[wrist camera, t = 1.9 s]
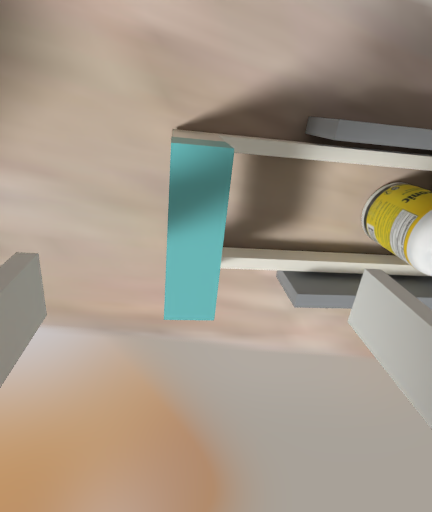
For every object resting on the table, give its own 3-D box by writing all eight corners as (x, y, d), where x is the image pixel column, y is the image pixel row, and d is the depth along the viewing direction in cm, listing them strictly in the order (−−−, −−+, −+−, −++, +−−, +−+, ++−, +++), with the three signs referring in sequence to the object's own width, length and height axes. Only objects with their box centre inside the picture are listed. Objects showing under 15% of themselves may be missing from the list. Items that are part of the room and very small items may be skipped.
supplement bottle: (429, 185, 28) (548, 224, 19) (402, 243, 30) (498, 302, 21) (372, 175, 27) (470, 211, 18) (350, 236, 29) (427, 294, 20)
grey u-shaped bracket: (276, 276, 30) (294, 307, 25) (308, 116, 24) (339, 119, 20) (432, 281, 32) (474, 310, 28) (495, 137, 26) (561, 144, 22)
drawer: (167, 255, 27) (163, 319, 19) (172, 129, 23) (171, 142, 15) (418, 266, 31) (506, 324, 23) (462, 157, 26) (589, 181, 18)
